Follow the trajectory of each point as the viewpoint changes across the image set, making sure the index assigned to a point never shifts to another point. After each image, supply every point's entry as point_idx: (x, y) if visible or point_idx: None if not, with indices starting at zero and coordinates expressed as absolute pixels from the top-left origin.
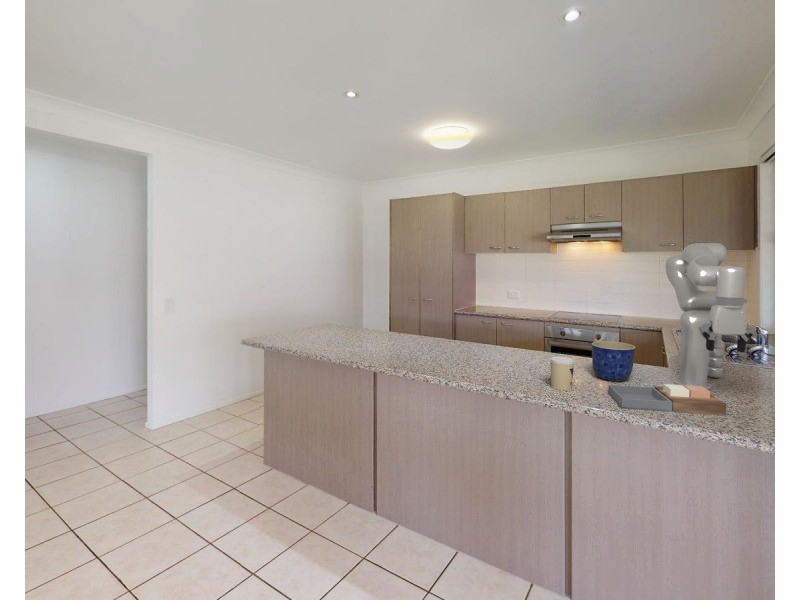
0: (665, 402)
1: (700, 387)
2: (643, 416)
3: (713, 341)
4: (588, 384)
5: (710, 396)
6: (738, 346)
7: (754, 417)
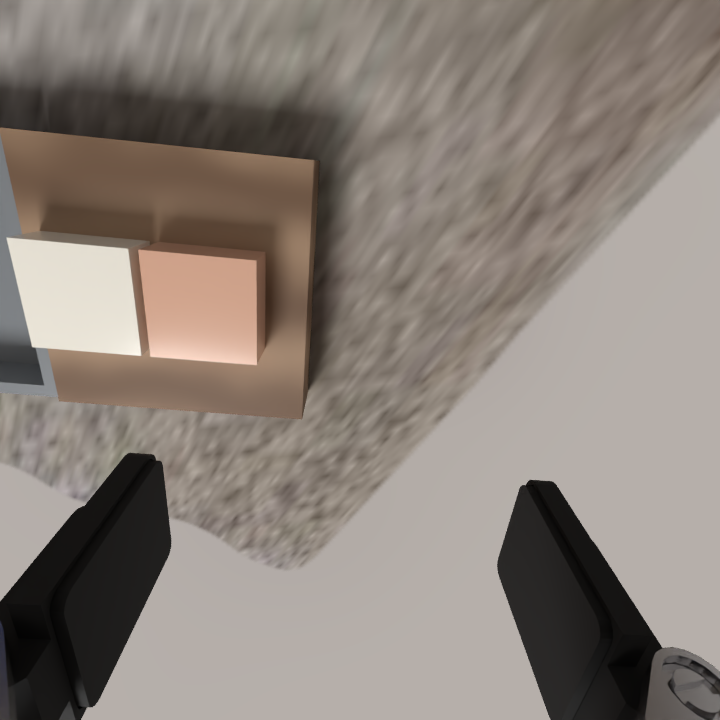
0: (29, 391)
1: (234, 293)
2: None
3: (85, 696)
4: None
5: (285, 317)
6: (537, 557)
7: (415, 402)
